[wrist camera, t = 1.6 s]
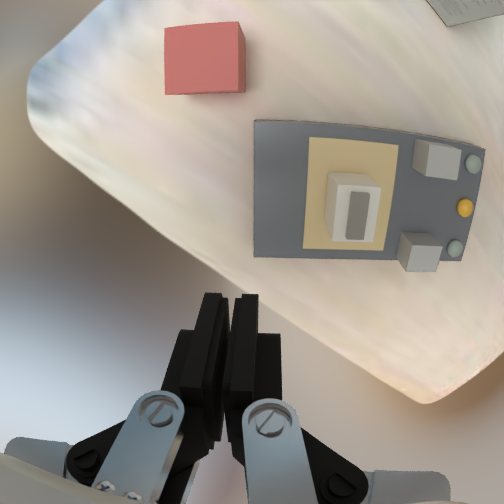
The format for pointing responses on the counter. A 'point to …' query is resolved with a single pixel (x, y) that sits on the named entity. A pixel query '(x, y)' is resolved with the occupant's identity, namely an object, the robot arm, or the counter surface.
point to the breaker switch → (351, 207)
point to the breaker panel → (379, 170)
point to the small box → (466, 10)
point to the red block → (204, 58)
